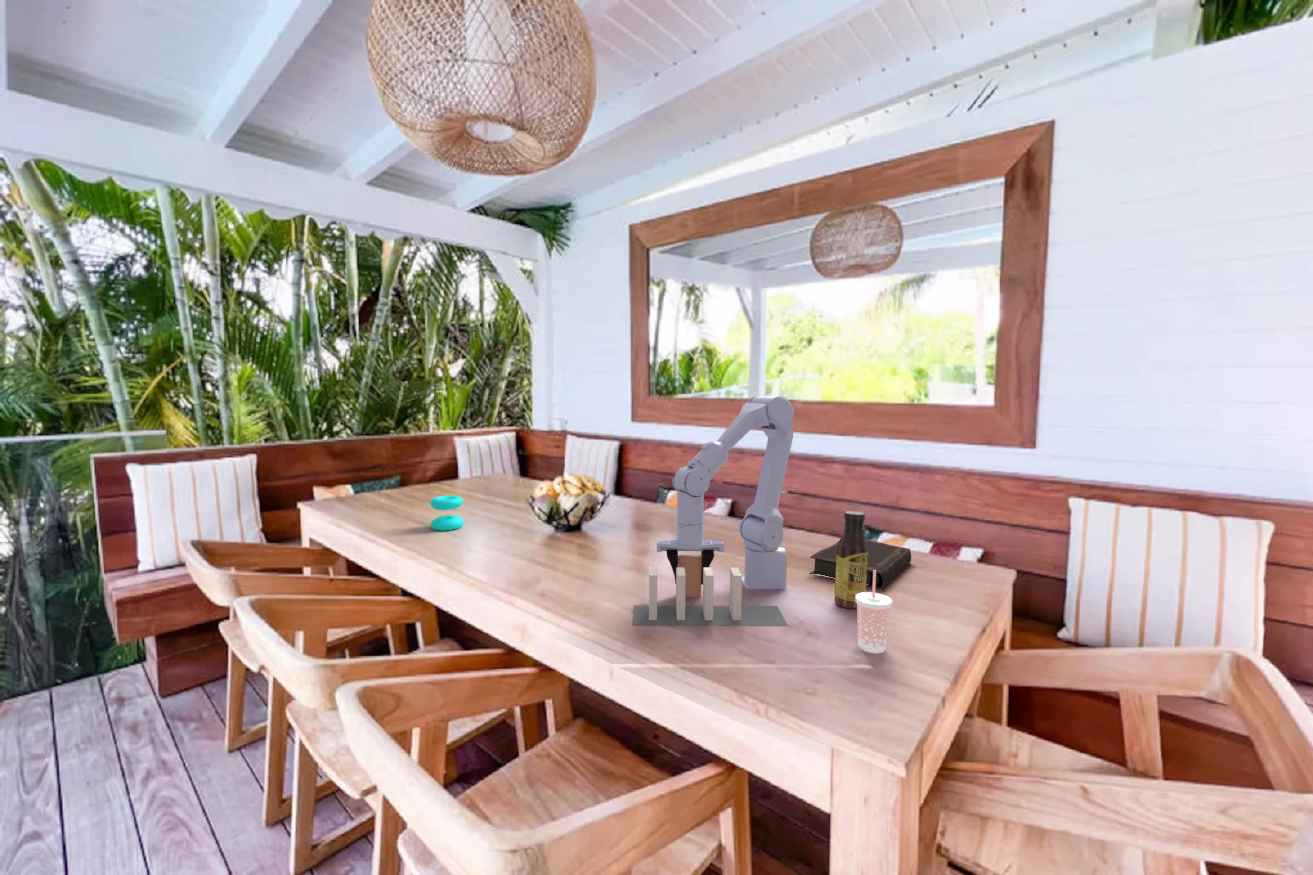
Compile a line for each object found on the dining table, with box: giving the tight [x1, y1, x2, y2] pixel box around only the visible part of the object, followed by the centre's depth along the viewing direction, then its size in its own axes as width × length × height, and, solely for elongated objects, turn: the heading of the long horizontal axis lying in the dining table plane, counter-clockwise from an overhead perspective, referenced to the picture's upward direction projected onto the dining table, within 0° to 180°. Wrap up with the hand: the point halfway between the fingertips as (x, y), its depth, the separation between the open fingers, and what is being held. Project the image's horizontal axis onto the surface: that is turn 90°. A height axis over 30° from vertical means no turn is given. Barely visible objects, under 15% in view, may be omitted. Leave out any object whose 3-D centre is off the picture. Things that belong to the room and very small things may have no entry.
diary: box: [809, 539, 912, 590], centre depth 145 cm, size 19×25×5 cm
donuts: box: [429, 495, 464, 532], centre depth 184 cm, size 10×10×10 cm
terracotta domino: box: [678, 554, 702, 598], centre depth 124 cm, size 2×5×9 cm, turn 90°
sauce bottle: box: [833, 510, 868, 609], centre depth 120 cm, size 6×6×20 cm
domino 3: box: [702, 566, 715, 620], centre depth 113 cm, size 2×5×9 cm, turn 0°
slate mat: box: [631, 604, 789, 627], centre depth 114 cm, size 30×10×1 cm, turn 90°
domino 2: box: [675, 567, 686, 620], centre depth 113 cm, size 2×5×9 cm, turn 0°
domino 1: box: [648, 566, 658, 620], centre depth 113 cm, size 2×5×9 cm, turn 0°
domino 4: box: [729, 567, 743, 620], centre depth 114 cm, size 2×5×9 cm, turn 0°
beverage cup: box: [855, 570, 893, 654], centre depth 100 cm, size 6×6×14 cm
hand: (689, 583), depth 125 cm, fingers closed on terracotta domino, 5 cm apart
